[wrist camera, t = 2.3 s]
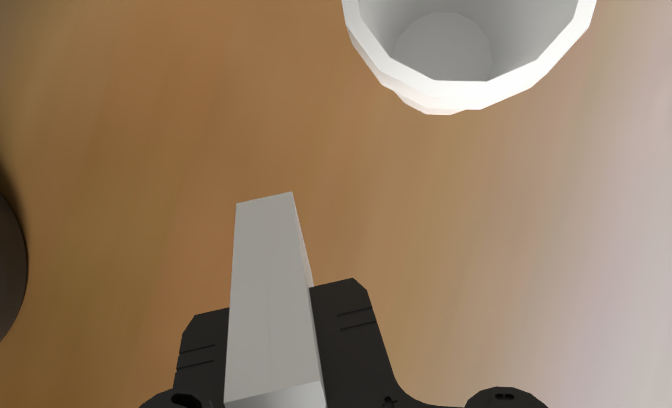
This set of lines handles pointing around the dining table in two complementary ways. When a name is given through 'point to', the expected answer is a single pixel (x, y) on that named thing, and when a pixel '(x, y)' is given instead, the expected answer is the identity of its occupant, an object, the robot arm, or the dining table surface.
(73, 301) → the dining table surface
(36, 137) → the dining table surface
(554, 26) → the foam cup
